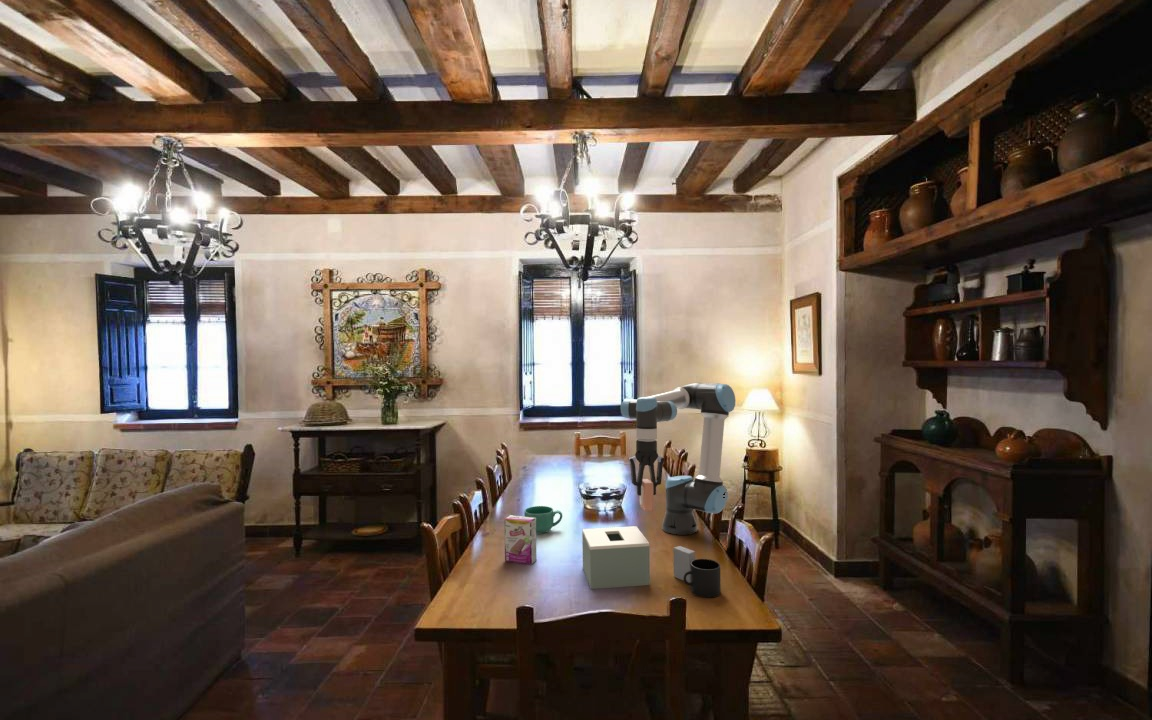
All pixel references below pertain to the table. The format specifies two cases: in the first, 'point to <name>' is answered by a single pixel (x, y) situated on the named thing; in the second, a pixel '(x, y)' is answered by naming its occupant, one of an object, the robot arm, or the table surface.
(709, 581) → the mug
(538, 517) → the mug
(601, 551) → the pale green white box
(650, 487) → the pink rectangular block
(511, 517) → the candy bar box
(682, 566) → the grey rectangular block
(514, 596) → the table surface
